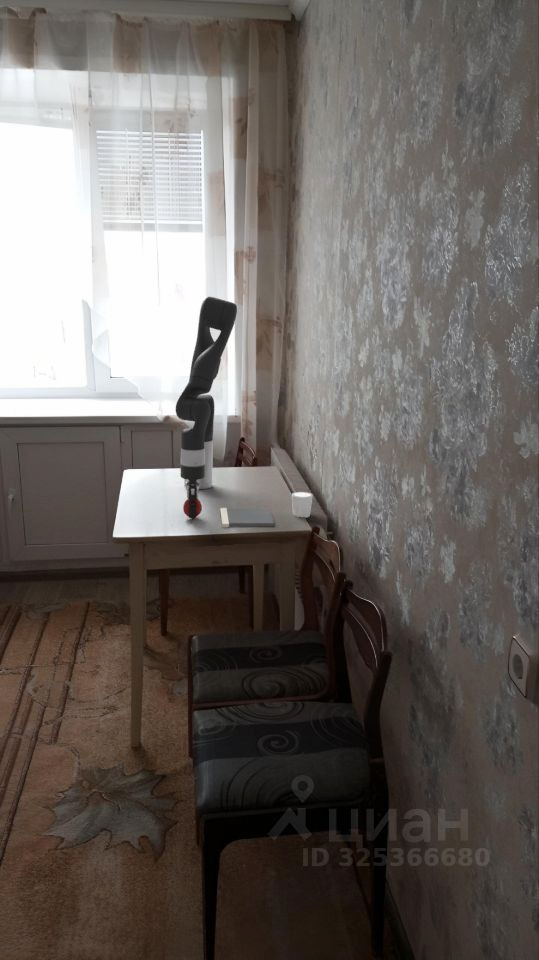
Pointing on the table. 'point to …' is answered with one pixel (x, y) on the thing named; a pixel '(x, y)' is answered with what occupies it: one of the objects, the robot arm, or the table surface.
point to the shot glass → (301, 503)
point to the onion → (198, 507)
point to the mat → (246, 517)
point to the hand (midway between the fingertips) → (192, 514)
